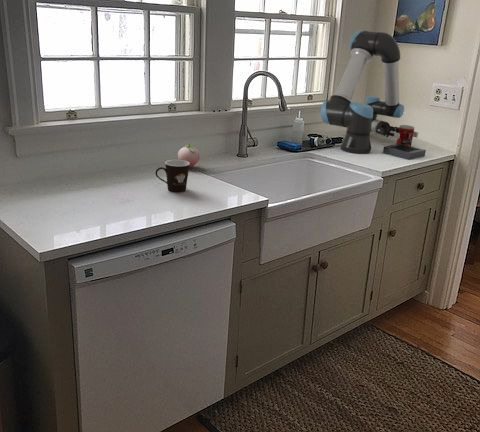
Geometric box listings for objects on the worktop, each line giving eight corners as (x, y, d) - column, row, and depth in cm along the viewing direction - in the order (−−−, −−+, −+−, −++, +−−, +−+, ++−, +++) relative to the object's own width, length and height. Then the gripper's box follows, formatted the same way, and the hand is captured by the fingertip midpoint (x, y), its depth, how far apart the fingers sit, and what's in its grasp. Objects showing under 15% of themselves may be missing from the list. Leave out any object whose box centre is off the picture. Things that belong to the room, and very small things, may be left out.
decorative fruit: (173, 166, 218) (174, 142, 214) (190, 164, 222) (191, 140, 219) (185, 172, 211) (185, 147, 207) (202, 169, 215) (203, 146, 212)
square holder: (408, 159, 256) (409, 153, 255) (382, 152, 266) (383, 146, 265) (424, 156, 265) (425, 150, 264) (398, 149, 275) (399, 143, 274)
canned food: (401, 148, 278) (404, 128, 275) (393, 144, 286) (396, 124, 282) (413, 148, 281) (417, 128, 277) (405, 144, 288) (409, 124, 284)
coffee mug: (189, 186, 193) (190, 160, 190) (188, 194, 185) (188, 166, 182) (157, 185, 193) (158, 158, 189) (154, 192, 185) (155, 165, 181)
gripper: (395, 133, 304) (423, 141, 287) (362, 134, 292) (389, 143, 275) (397, 120, 301) (426, 127, 284) (364, 121, 289) (392, 129, 272)
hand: (408, 135), depth 279 cm, fingers open, 13 cm apart
